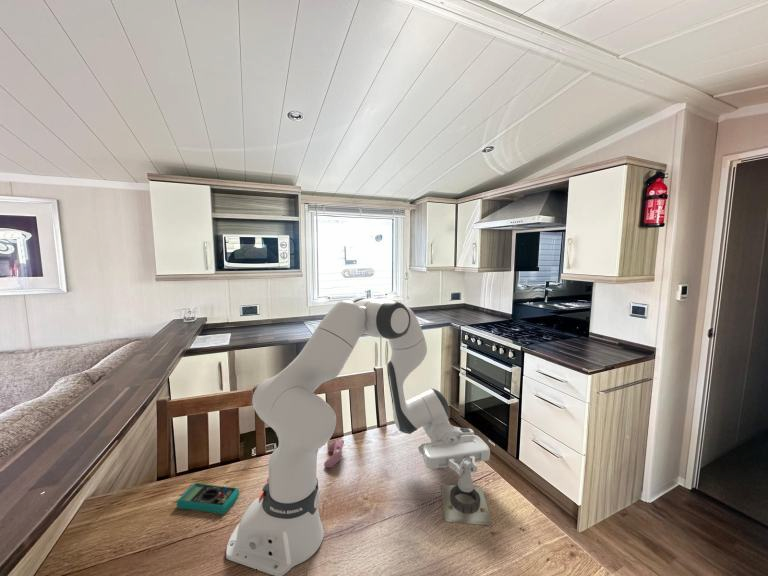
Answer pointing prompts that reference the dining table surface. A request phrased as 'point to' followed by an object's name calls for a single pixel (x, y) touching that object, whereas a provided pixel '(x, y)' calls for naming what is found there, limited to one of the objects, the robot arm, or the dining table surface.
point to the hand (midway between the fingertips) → (468, 470)
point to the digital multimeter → (208, 498)
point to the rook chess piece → (466, 476)
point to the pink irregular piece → (334, 453)
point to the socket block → (465, 505)
